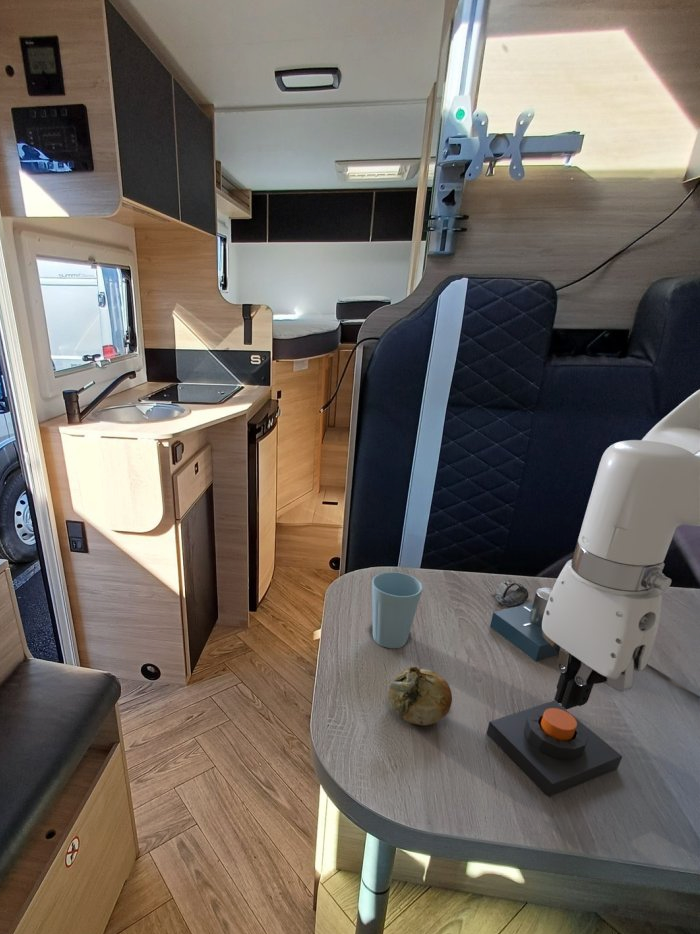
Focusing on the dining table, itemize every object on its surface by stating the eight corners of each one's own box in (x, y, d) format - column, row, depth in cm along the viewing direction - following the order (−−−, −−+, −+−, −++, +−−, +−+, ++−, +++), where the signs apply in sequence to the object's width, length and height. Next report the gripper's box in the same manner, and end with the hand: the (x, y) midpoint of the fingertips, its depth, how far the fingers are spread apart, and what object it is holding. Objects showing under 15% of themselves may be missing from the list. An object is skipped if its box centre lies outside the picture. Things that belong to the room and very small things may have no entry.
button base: (550, 712, 70) (557, 689, 69) (617, 769, 62) (627, 745, 60) (485, 734, 67) (492, 710, 65) (547, 797, 58) (556, 772, 57)
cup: (362, 624, 88) (368, 570, 84) (407, 625, 88) (415, 571, 84) (369, 652, 81) (376, 596, 77) (418, 653, 82) (428, 597, 77)
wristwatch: (512, 613, 94) (532, 594, 94) (495, 597, 93) (516, 577, 92) (503, 606, 97) (522, 587, 96) (486, 590, 96) (506, 571, 95)
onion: (439, 745, 65) (450, 696, 61) (378, 722, 68) (385, 674, 65) (452, 707, 71) (462, 661, 67) (395, 688, 74) (402, 642, 71)
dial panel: (543, 613, 92) (547, 598, 91) (591, 645, 84) (597, 629, 83) (489, 626, 88) (493, 611, 87) (535, 661, 80) (540, 645, 79)
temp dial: (523, 616, 86) (530, 588, 84) (543, 611, 87) (551, 584, 85) (544, 630, 82) (552, 602, 80) (565, 625, 84) (573, 597, 81)
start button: (555, 715, 65) (559, 704, 64) (580, 736, 62) (584, 725, 61) (533, 722, 64) (537, 712, 63) (557, 744, 61) (561, 733, 60)
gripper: (717, 593, 48) (652, 739, 56) (579, 530, 60) (543, 657, 68) (661, 610, 45) (602, 759, 53) (529, 541, 58) (498, 670, 66)
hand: (569, 701), depth 61 cm, fingers closed
